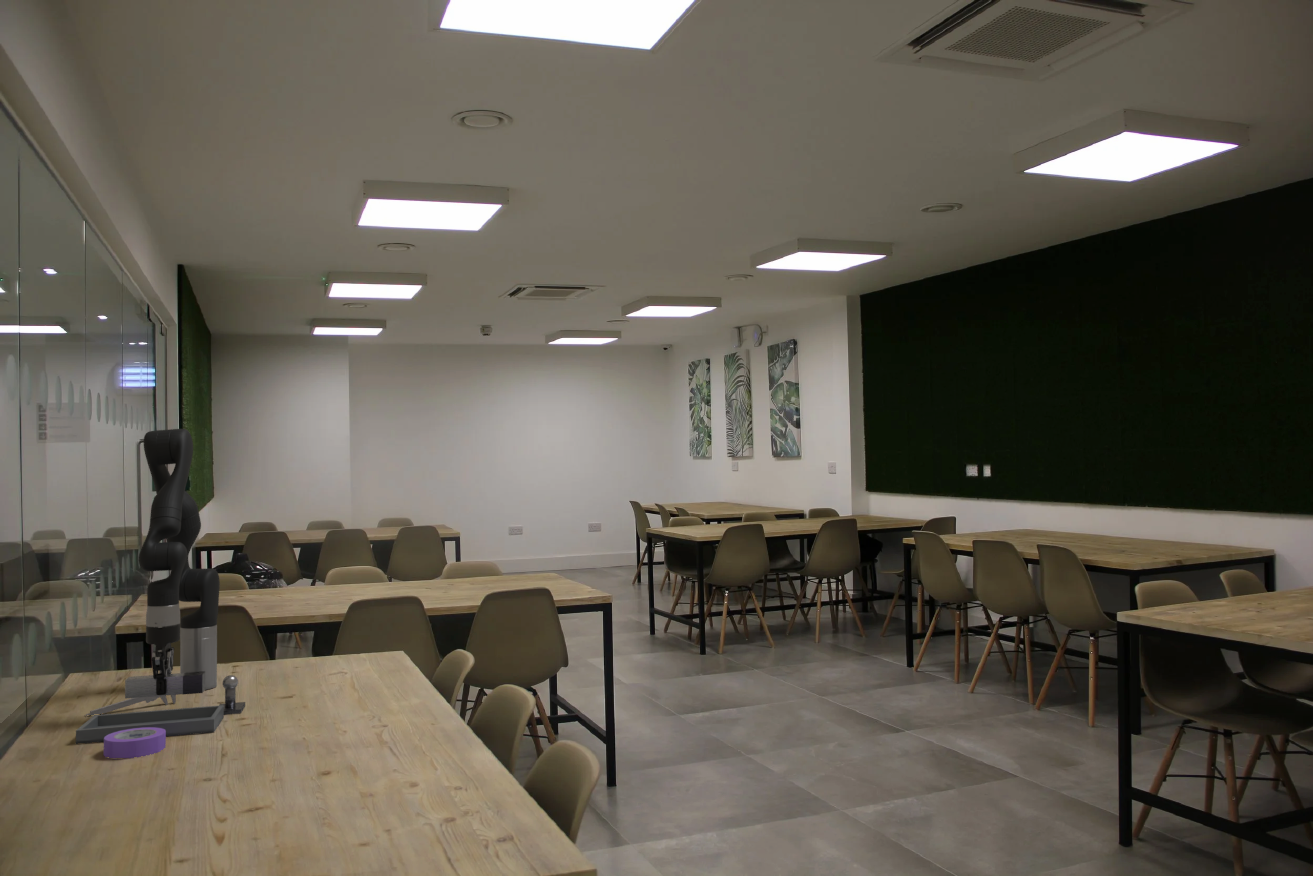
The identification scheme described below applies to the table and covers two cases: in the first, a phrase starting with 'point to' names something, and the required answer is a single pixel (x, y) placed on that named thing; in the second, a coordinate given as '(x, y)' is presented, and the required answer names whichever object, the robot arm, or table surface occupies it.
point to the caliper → (130, 703)
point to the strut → (175, 685)
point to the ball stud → (231, 696)
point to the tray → (153, 722)
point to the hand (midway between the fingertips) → (163, 692)
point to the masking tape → (134, 742)
